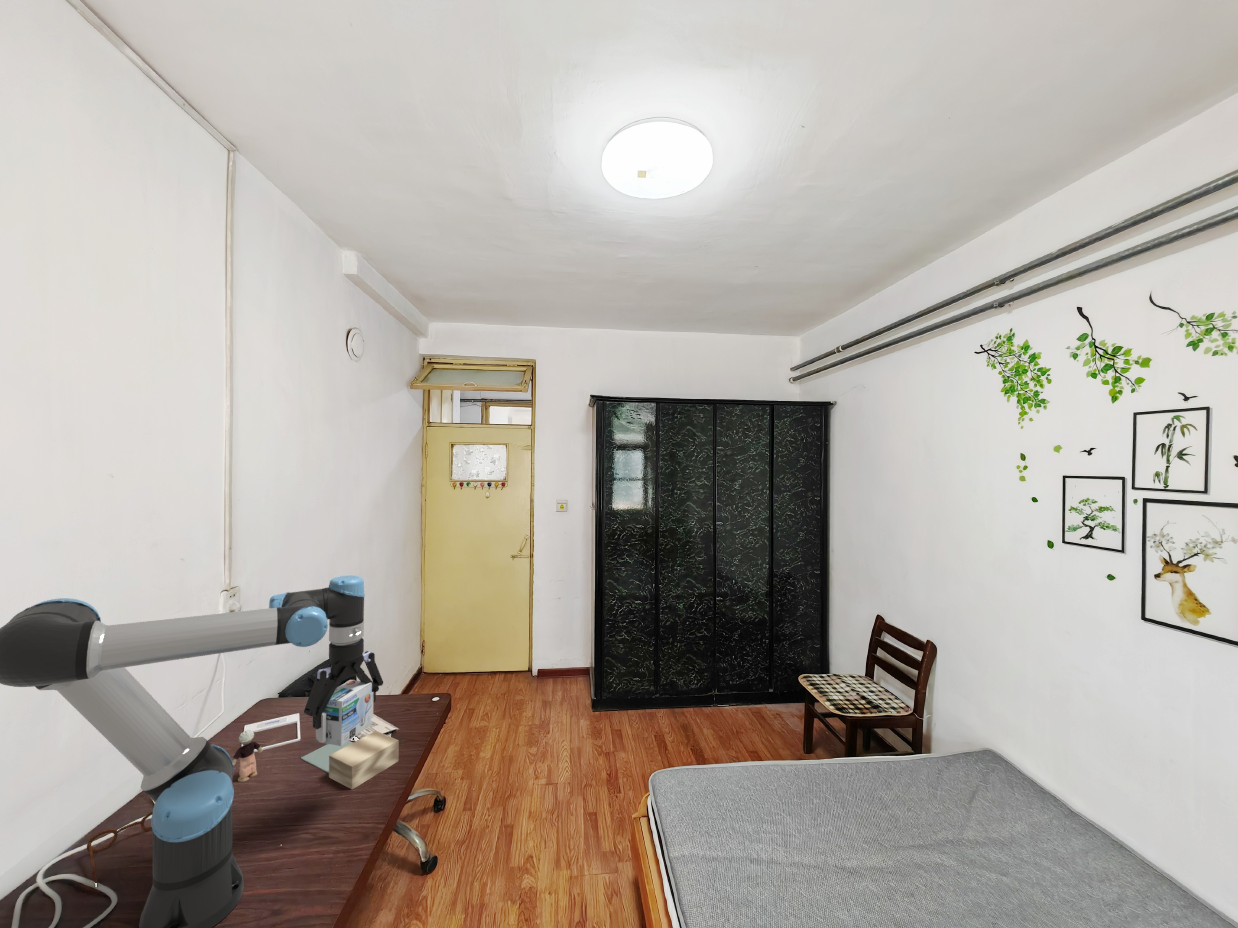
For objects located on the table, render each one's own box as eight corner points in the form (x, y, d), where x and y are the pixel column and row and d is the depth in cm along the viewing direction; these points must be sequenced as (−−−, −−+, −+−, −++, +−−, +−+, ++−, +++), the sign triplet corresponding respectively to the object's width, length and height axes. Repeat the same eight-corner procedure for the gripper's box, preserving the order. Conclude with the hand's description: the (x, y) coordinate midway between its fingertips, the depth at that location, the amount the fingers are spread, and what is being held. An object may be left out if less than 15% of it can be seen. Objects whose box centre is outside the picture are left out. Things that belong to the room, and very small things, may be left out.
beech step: (352, 789, 130) (352, 766, 130) (329, 777, 135) (329, 755, 135) (398, 760, 142) (398, 740, 142) (375, 750, 147) (375, 730, 147)
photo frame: (299, 712, 167) (300, 738, 152) (299, 715, 167) (300, 741, 152) (244, 724, 159) (240, 753, 144) (244, 728, 159) (240, 757, 144)
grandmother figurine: (253, 767, 138) (253, 722, 138) (264, 769, 138) (265, 724, 137) (226, 785, 131) (226, 737, 131) (238, 787, 130) (238, 739, 130)
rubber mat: (330, 773, 136) (330, 772, 136) (300, 758, 143) (300, 757, 143) (370, 751, 147) (370, 750, 147) (341, 738, 153) (341, 737, 153)
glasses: (167, 823, 118) (167, 802, 118) (179, 851, 110) (179, 829, 110) (86, 857, 108) (86, 834, 108) (93, 891, 100) (93, 867, 99)
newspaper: (325, 726, 161) (326, 718, 161) (363, 714, 171) (364, 706, 171) (361, 750, 148) (362, 742, 148) (400, 736, 158) (400, 728, 158)
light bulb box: (341, 747, 117) (341, 701, 117) (316, 743, 118) (317, 698, 118) (372, 723, 127) (373, 681, 127) (349, 720, 129) (350, 678, 129)
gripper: (305, 660, 110) (304, 757, 111) (398, 628, 131) (397, 710, 132) (286, 653, 114) (285, 747, 114) (380, 623, 135) (379, 703, 135)
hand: (345, 727), depth 123 cm, fingers closed on light bulb box, 11 cm apart
